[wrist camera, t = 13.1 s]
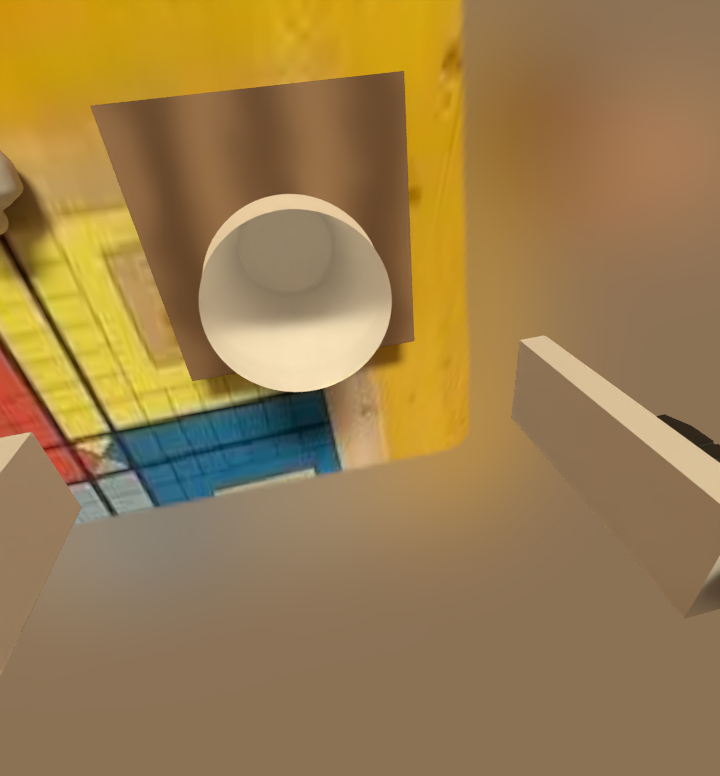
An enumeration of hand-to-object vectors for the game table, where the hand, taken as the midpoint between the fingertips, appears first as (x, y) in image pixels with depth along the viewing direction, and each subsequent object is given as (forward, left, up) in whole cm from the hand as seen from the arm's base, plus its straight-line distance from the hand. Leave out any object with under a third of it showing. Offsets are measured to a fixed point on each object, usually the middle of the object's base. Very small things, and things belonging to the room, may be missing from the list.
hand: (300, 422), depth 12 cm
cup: (+1, 0, -21) cm, 21 cm away
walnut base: (0, 0, -25) cm, 25 cm away
